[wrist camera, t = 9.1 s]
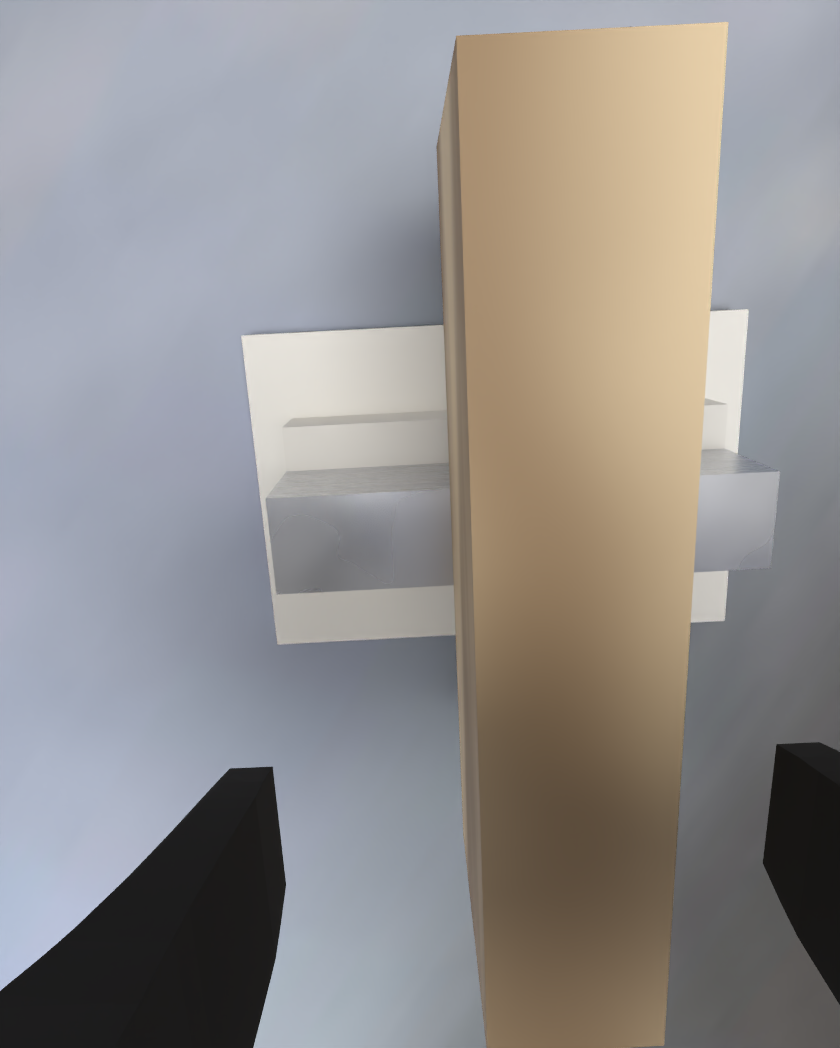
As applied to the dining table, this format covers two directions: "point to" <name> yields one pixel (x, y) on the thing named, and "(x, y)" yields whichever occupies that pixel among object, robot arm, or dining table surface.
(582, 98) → the oak bar
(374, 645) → the dining table surface
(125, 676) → the dining table surface
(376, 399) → the ridge stand
